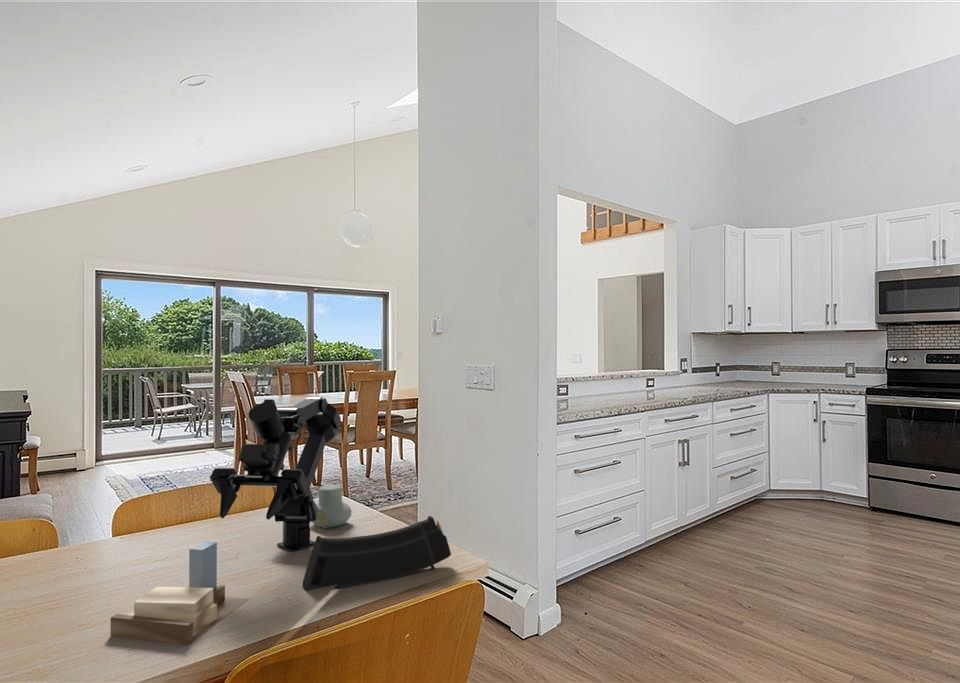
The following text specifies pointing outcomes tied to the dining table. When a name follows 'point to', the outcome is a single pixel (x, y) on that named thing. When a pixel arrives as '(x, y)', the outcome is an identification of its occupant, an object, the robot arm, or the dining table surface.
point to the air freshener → (331, 507)
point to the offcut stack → (178, 605)
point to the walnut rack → (171, 623)
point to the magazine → (375, 556)
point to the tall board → (203, 565)
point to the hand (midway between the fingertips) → (244, 517)
